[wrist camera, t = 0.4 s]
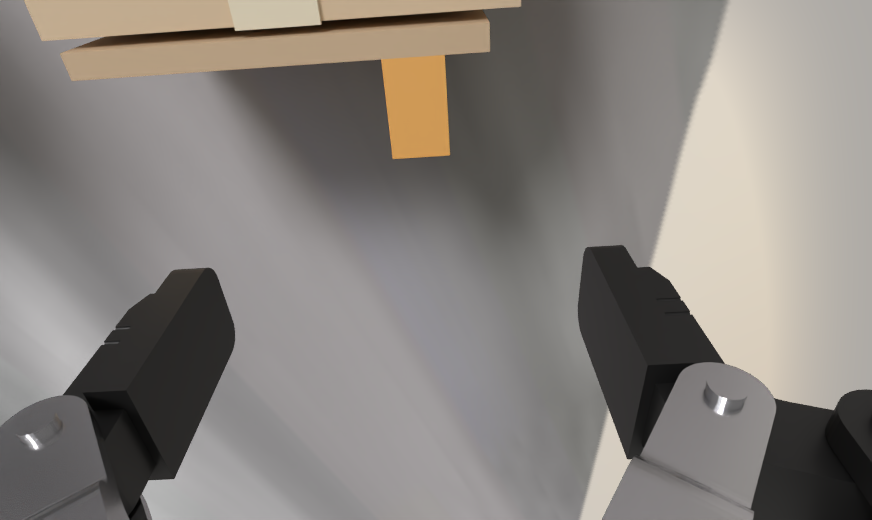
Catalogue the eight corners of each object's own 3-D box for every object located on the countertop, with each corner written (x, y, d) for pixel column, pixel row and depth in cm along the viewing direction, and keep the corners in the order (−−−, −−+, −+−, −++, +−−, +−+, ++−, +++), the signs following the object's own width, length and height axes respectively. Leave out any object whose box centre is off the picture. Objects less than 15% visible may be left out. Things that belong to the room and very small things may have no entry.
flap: (177, 9, 29) (59, 53, 20) (469, -12, 28) (489, 23, 19) (205, 100, 32) (113, 177, 22) (472, 82, 31) (490, 152, 22)
